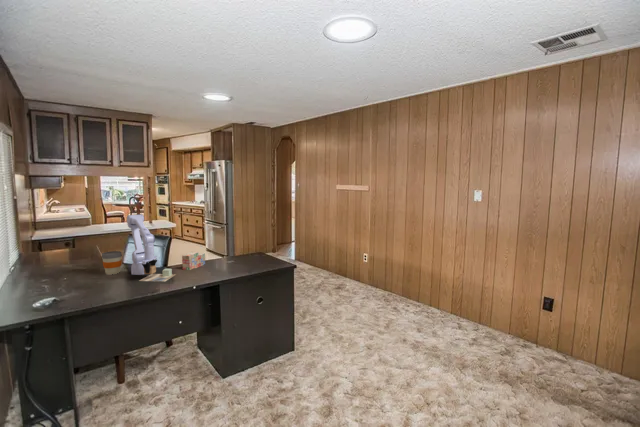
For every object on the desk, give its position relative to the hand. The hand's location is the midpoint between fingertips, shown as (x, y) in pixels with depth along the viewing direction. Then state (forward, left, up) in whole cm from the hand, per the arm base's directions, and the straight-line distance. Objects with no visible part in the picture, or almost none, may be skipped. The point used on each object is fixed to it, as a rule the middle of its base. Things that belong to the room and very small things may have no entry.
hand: (150, 271), depth 222 cm
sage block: (+9, +6, -4) cm, 12 cm away
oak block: (0, 0, -1) cm, 1 cm away
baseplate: (+5, +1, -6) cm, 7 cm away
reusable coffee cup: (-35, +13, -6) cm, 38 cm away
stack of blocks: (+18, +31, -6) cm, 37 cm away
